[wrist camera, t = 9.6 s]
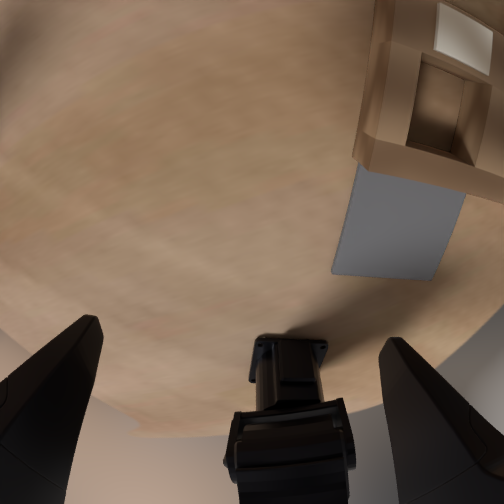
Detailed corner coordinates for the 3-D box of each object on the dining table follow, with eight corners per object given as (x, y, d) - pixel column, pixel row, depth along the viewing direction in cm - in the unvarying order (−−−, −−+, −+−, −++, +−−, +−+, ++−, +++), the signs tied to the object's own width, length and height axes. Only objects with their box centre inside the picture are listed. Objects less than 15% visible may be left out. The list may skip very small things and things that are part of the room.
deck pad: (429, 277, 23) (431, 280, 22) (330, 270, 22) (332, 274, 22) (467, 176, 18) (470, 178, 18) (361, 149, 17) (363, 151, 17)
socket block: (526, 202, 19) (548, 220, 16) (351, 156, 18) (370, 173, 15) (552, 89, 13) (578, 98, 10) (376, -9, 12) (399, -22, 9)
